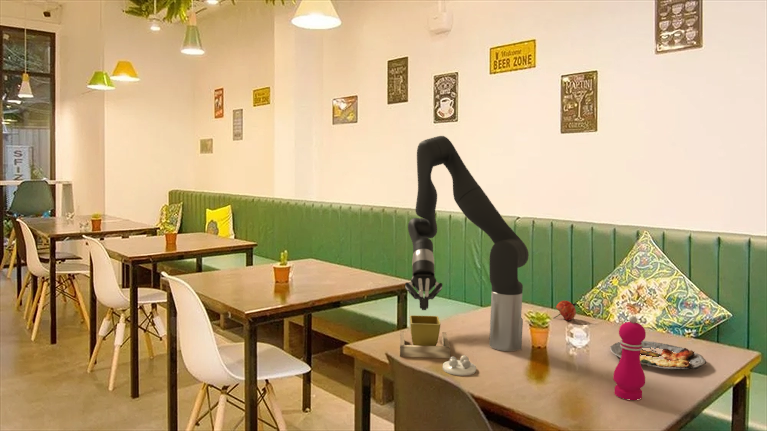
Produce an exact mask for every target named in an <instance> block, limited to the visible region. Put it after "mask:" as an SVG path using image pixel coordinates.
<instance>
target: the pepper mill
mask: <svg viewBox="0 0 767 431" xmlns="http://www.w3.org/2000/svg"><path fill="white" fill-rule="evenodd" d="M618 329H619V330H618V335H619V337H620V338H621V340H620V341H619V342H621V344H620V346H621V347H622V355H621V358H619V362H618V363H617V365H616V366H615V369H614V371H613V376H612V378H613V381H614V382H615V384H616V385H614V392H613V393H614V395H615V396H616V397H617V396H618V397H617V398H619V397H621V398H620V399H622V398H624V399H623V400H625V399H630V400H637V399H640V398H641V399H642V398H643V390H642V388H643V387H645V384H646V375H645V371H644V369H643V367H642V364H641V363H640V350H642V346H643V344H642V343H641V342H642V341H645V339H646V335H647V334H646V333H647V332H646V329H645V327H644V326H643V325H642V324H640V323H638V318H637V317H636V316H635V315H631V316H629V318H628V321H626V322H623V323H622V324H621V325H620V326H619V328H618ZM641 399H640V400H641ZM630 400H629V401H630ZM637 401H638V400H637Z"/></svg>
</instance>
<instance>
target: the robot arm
mask: <svg viewBox="0 0 767 431" xmlns="http://www.w3.org/2000/svg"><path fill="white" fill-rule="evenodd" d="M416 149H417V150H416V168H417V195H416V202H415V213H416V215H417V216H418V217H413V218H410V220H409V221H408V224H407V230H408V235H409V237H410V239H411V240H410V241H411V242H412V263H411V265H412V270H411V271H412V277H411V279H410V281H409V282H405V287H404V289H405V290H406V291H407V292H408V293H409V294H410V296H411V297H412V298H413V299H414V300H419V301H418V302H419V309H421V311H427V309H429V300H434V299H435V297H436V296H437V295H438V294H439V293H440V292H441V291H442V290H443V283H441V282H438V281H437V278H436V277H435V274H436V273H435V257H434V243H433V241H432V239H433V238H435V236H436V235H437V233H438V224H437V220H436V209H437V202H438V192H437V189H436V186H435V184H434V182H433V181H432V172H433V169H434V167H437V166H439V165H443V166H445V168H446V169H447V170H448V173H449V174H450V176H451V180H452V193H453V194H452V195H453V198H454V201H455V203H456V205H457V206H458V208H459V209H460V211H461V212H462V213H463V215H464V216H465V217H466V218H467V219H468V220H469V221H470V222H471V223H472V224H473V225H475V226H476V227H477V228H479V229H480V230H482V231H483V232H484V233H485V234H486V235H487V236H488V237H489V239H490V240H491V241H492V242H493V245H492V247H491V249H490V252H489V282H490V285H491V294H490V295H491V297H490V298H491V300H490V301H491V302H490V320H489V321H490V323H489V338H488V339H489V347H490V348H492V349H494V350H497V351H503V352H504V351H505V352H513V351H519V350H521V351H522V349H523V348H522V345H523V343H522V342H523V324H524V320H523V317H522V312H523V311H522V310H523V289H524V287H523V286H524V285H523V283H522V282H521V281H519V276H518V269H519V268H522V267H523V266H525V265H526V264H527V262H528V260H529V256H530V255H529V250H528V248H527V245H526V244H525V242H524V241H523V240H522V239H521V238H520V237H519V235H518V234H517V233H516V232H515V231H514V230H513V229H512V228H511V227H510V225H509V224H508V223H507V222H506V221H505V219H504V218H503V216H502V214H500V212H499V211H498V209H497V208H496V207H495V205H494V204H493V203H492V201H491V199H490V198H489V197H488V195H487V194H486V193H485V191H484V189H483V188H482V187H481V186H480V185H479V183H478V182H477V181H476V180H475V178H474V176H473V175H472V174H471V172H470V171H469V169H468V168H467V166H466V165H465V162H463V159H462V158H461V156H460V155H459V153H458V151H457V150H456V147H455V146H454V144H453V143H452V141H451V140H450V139H449V138H448V137H447V136H444V135H439V136H435V137H434V136H433V137H430V138H427V139H424V140H422V141H420V142H419V143H418V146H417V148H416ZM417 291H418V292H417ZM430 291H431V292H430Z"/></svg>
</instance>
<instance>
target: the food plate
mask: <svg viewBox="0 0 767 431" xmlns="http://www.w3.org/2000/svg"><path fill="white" fill-rule="evenodd" d="M641 343H642V344H643V346H642V348H650V349H651V347H652V348H654V349H656V348H659V349H663V350H662V353H661V354H660V353H659V354H658V353H656V352H654V351H653V352H652V351H646V350H643V349H642V350H640V354H641V355H646V356H652V357H646V356H641V355H640V363H641V365H643V366H644V365H645V366H648V367H649V368H651V367H655V368H659V369H665V370H669V371H670V370H675V371H677V370H679V371H683V370H694V369H695V370H696V369H699V368H700V367H702V366H704V365H706V363H707V360H706V359H705V358H704V356H703V355H701V354H699V353H697V352H695V351H693V350H692V349H691V350H690V349H688V348H686V347H681V346H676V345H671V344H668V343H662V342H661V343H660V342H657V341H647V340H643V341H642V342H641ZM620 344H621V342H620V341H619V342H618V341H617V342H615V343H614V344H612V345H611V346H609V350H610V351H611V353H612V354H614V355H615V356H617V357H619V359H621V355H622V347H621V346H620ZM672 351H673V352H676V353H673V352H672ZM659 356H662V357H663V358H664V359H658V358H653V357H659ZM669 360H670V361H669ZM689 362H690V363H689Z"/></svg>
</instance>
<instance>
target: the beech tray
mask: <svg viewBox="0 0 767 431" xmlns="http://www.w3.org/2000/svg"><path fill="white" fill-rule="evenodd" d="M399 333H400V334H399V335H400V336H399V357H408V358H410V357H411V358H437V359H450V358H451V345H450V341H449V338H448V333H447V332H445V331H443V332H441V333H442V334H441V342H442V343H441V344H442V345H436V346H417V345H413V344H412V345H411V344H405V330H400V332H399Z"/></svg>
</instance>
